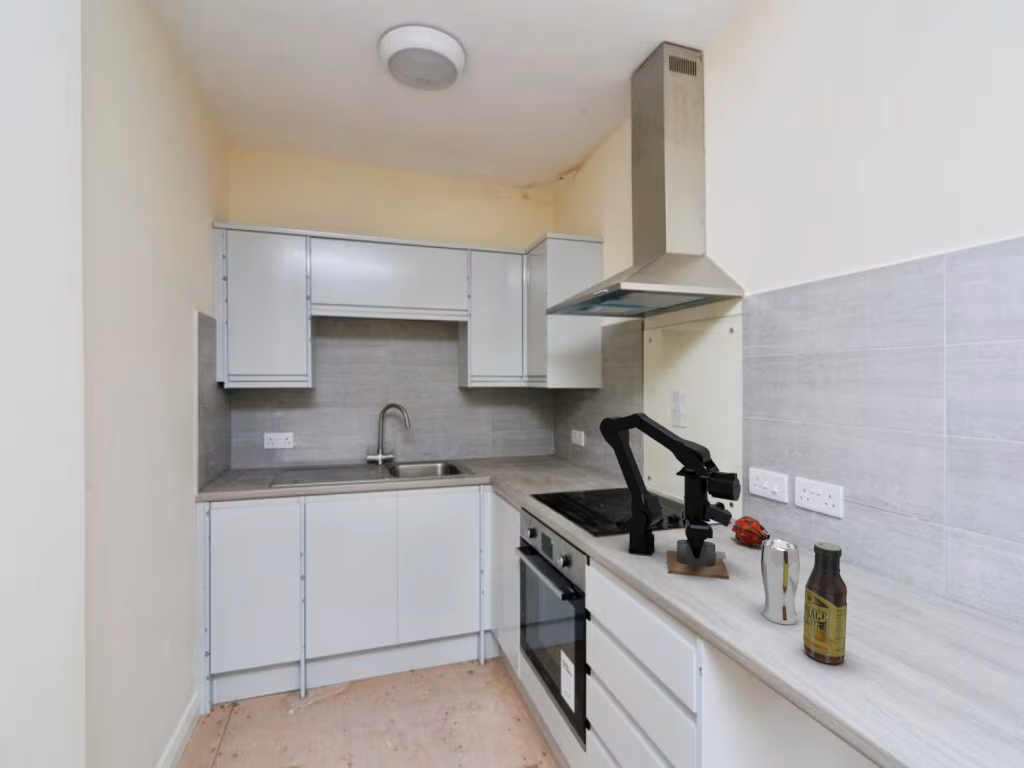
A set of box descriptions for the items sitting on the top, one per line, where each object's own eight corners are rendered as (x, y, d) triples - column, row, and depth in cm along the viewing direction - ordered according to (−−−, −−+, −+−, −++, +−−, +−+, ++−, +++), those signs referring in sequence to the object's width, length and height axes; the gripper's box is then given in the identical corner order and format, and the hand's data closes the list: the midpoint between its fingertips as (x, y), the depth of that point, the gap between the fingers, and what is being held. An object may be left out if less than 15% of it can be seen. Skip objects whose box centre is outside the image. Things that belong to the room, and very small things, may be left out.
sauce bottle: (795, 646, 87) (795, 538, 87) (827, 644, 88) (828, 537, 87) (821, 668, 81) (822, 551, 80) (855, 666, 81) (856, 550, 81)
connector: (677, 563, 124) (677, 544, 124) (676, 557, 128) (676, 538, 128) (726, 568, 121) (726, 548, 121) (723, 561, 125) (724, 542, 125)
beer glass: (795, 612, 100) (795, 540, 100) (803, 628, 93) (803, 552, 93) (758, 606, 102) (758, 537, 102) (763, 622, 96) (764, 548, 95)
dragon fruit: (738, 541, 147) (763, 561, 135) (719, 527, 146) (742, 546, 134) (756, 519, 147) (782, 538, 135) (736, 505, 145) (761, 522, 133)
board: (668, 573, 120) (668, 569, 120) (666, 553, 133) (666, 550, 133) (729, 579, 116) (729, 576, 116) (720, 558, 130) (720, 555, 130)
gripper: (735, 506, 113) (735, 571, 114) (723, 488, 131) (723, 544, 131) (686, 502, 116) (685, 566, 117) (681, 485, 134) (680, 540, 135)
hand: (695, 553), depth 125 cm, fingers open, 6 cm apart
